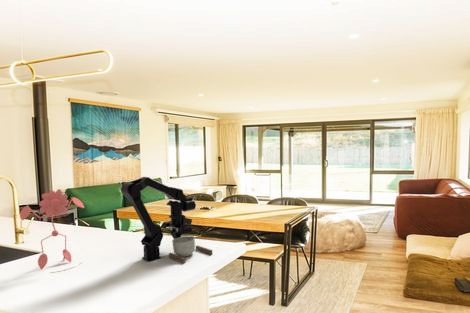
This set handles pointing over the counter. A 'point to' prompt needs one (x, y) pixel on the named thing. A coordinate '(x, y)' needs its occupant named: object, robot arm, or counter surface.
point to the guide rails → (184, 258)
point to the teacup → (184, 245)
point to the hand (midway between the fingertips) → (177, 243)
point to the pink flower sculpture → (52, 206)
